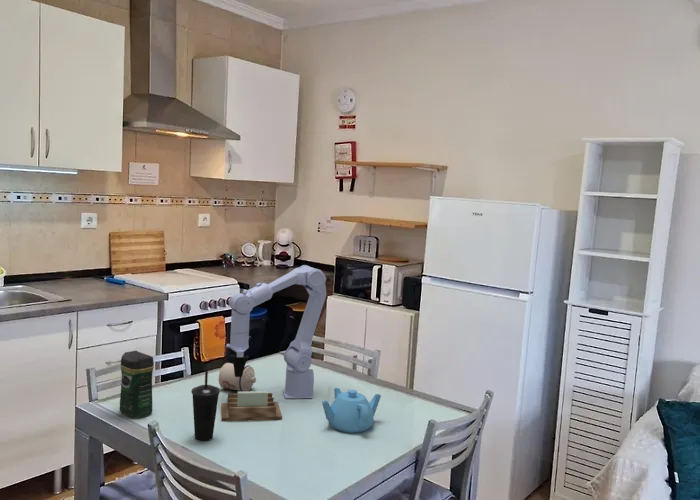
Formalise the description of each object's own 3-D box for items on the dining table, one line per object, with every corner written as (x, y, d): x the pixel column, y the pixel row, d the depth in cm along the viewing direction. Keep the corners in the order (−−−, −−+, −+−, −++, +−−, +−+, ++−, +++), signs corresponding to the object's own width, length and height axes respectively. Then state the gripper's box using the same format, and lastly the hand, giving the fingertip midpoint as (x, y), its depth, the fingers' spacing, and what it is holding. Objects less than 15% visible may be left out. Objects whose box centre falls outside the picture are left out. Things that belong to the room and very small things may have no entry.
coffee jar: (156, 414, 180) (158, 354, 178) (133, 421, 173) (134, 359, 171) (138, 405, 185) (140, 347, 183) (115, 411, 179) (116, 351, 177)
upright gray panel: (266, 413, 183) (267, 391, 183) (266, 415, 182) (267, 392, 181) (236, 413, 181) (237, 391, 180) (236, 415, 180) (237, 393, 179)
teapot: (317, 429, 176) (319, 394, 175) (333, 412, 191) (335, 379, 189) (366, 439, 172) (369, 403, 171) (379, 420, 186) (382, 387, 185)
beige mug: (214, 384, 200) (245, 390, 196) (223, 358, 204) (253, 363, 200) (230, 393, 210) (259, 399, 206) (238, 368, 214) (267, 373, 210)
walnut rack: (277, 404, 193) (278, 392, 193) (282, 419, 182) (282, 407, 181) (220, 406, 189) (221, 393, 189) (221, 421, 177) (222, 408, 177)
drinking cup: (223, 435, 168) (226, 366, 166) (208, 445, 161) (211, 373, 159) (199, 429, 170) (202, 361, 168) (184, 440, 163) (186, 369, 161)
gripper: (226, 325, 197) (224, 365, 198) (227, 337, 183) (225, 380, 184) (248, 325, 198) (246, 365, 200) (251, 337, 184) (248, 380, 186)
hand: (237, 372), depth 192 cm, fingers open, 7 cm apart
